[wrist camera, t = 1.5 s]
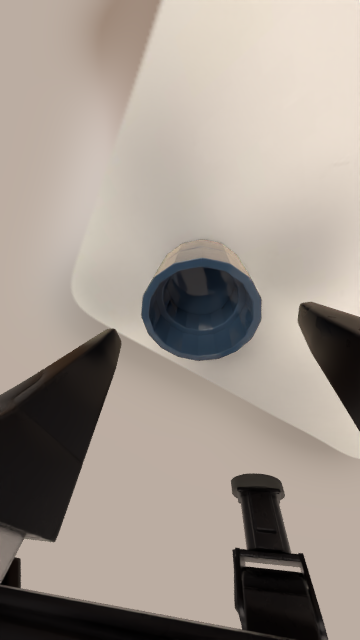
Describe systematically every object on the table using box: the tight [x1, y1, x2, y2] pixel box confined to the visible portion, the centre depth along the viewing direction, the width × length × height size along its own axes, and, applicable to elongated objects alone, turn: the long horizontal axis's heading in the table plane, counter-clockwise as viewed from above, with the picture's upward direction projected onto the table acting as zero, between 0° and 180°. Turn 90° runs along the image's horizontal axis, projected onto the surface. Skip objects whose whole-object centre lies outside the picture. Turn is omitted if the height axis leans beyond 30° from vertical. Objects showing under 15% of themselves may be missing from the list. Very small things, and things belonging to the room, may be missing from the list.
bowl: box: [141, 239, 262, 361], centre depth 12 cm, size 6×6×4 cm
